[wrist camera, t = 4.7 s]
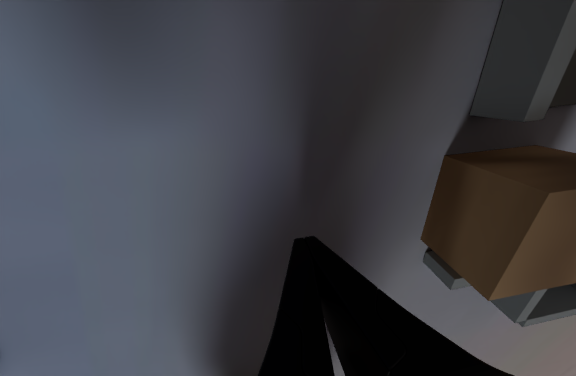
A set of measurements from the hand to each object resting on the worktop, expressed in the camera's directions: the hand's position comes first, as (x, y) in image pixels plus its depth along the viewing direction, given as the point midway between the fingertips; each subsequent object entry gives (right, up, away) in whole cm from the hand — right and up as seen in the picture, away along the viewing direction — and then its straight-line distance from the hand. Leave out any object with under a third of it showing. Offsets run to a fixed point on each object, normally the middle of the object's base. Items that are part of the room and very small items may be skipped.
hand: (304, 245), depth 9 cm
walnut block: (+9, +2, +3) cm, 10 cm away
